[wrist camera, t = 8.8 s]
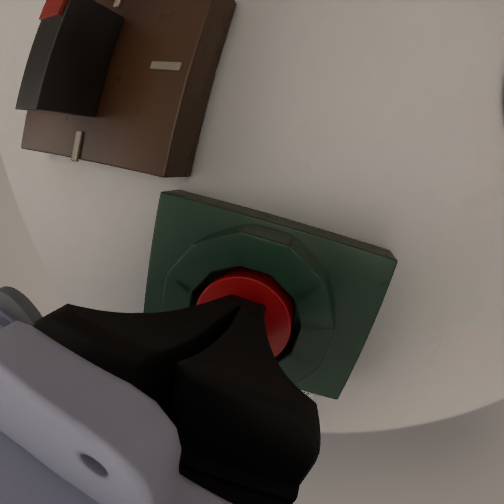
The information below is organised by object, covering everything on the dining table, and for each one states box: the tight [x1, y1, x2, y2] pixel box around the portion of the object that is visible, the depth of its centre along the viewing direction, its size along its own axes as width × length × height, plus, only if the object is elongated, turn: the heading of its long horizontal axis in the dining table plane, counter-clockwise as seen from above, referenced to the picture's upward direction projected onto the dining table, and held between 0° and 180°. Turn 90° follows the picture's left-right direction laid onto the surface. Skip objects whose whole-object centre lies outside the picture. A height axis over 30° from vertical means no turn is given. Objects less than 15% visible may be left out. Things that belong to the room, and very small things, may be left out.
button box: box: [143, 190, 397, 399], centre depth 13 cm, size 10×7×4 cm
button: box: [197, 266, 296, 357], centre depth 12 cm, size 4×4×2 cm
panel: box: [21, 0, 236, 178], centre depth 13 cm, size 10×9×3 cm
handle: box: [16, 0, 124, 117], centre depth 10 cm, size 5×2×4 cm, turn 166°
